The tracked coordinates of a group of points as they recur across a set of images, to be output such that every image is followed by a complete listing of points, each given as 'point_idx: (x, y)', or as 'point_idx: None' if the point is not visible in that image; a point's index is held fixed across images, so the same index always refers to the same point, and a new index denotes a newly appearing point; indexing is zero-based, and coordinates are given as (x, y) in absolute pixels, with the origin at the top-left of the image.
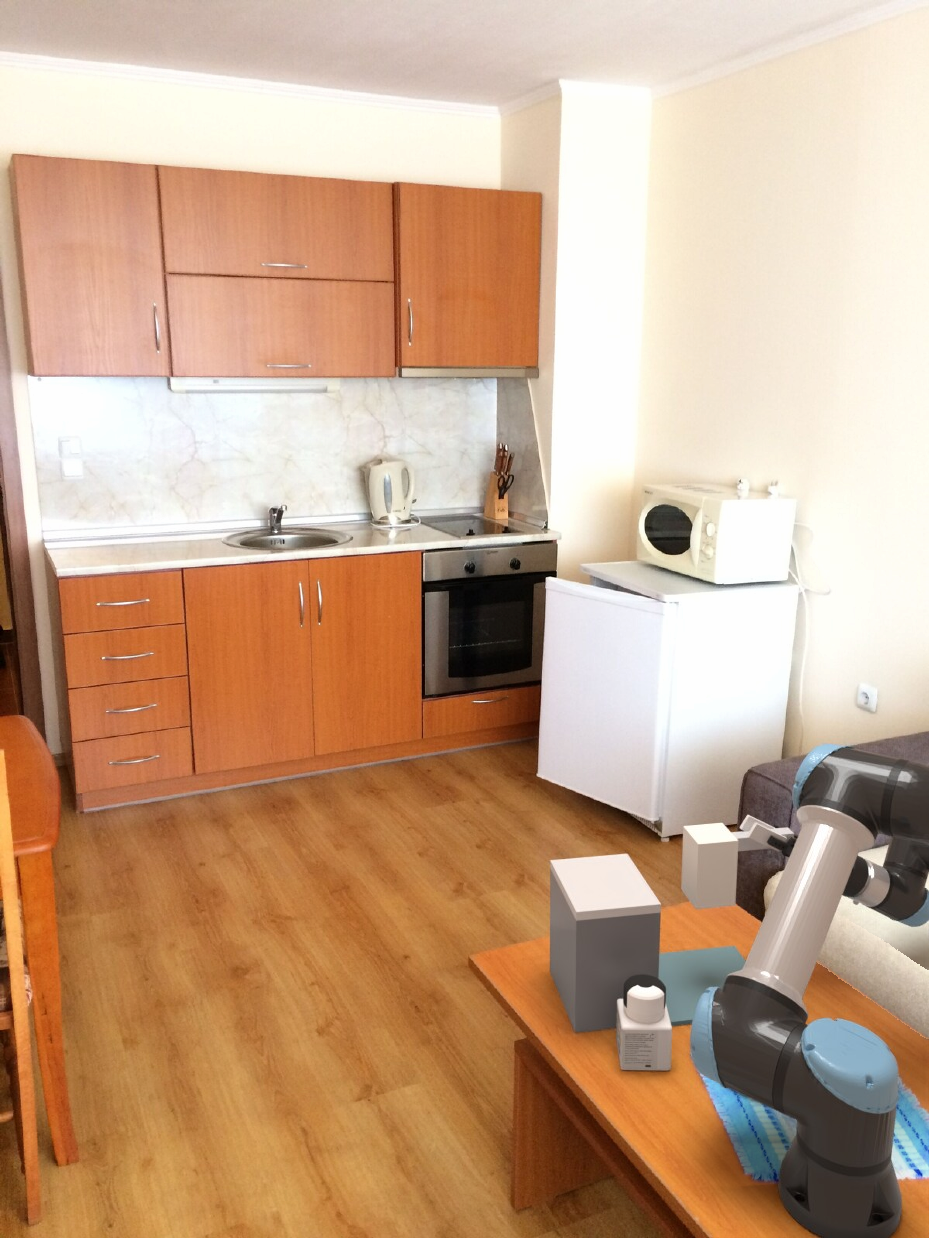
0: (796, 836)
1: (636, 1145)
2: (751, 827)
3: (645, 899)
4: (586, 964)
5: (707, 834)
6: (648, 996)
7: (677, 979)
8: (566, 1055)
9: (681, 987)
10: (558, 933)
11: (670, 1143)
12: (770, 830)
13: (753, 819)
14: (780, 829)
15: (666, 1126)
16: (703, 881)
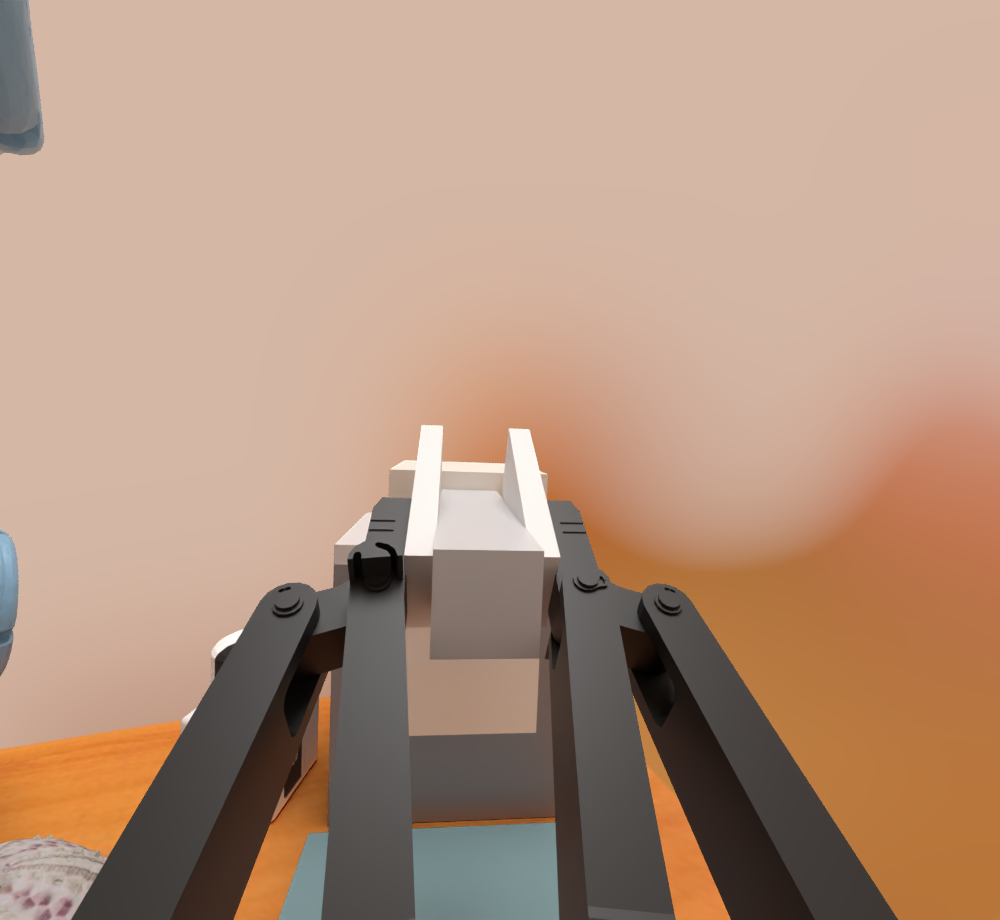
0: (759, 818)
1: (80, 737)
2: (508, 489)
3: (364, 539)
4: None
5: (460, 465)
6: (221, 639)
7: (466, 900)
8: None
9: (428, 901)
10: None
11: (32, 772)
12: (418, 471)
13: (511, 448)
14: (512, 536)
15: (68, 776)
16: None
